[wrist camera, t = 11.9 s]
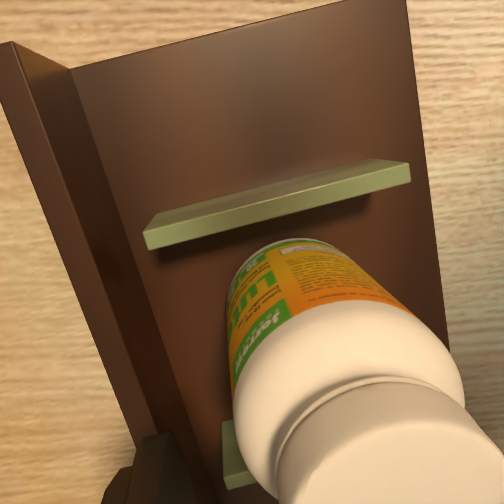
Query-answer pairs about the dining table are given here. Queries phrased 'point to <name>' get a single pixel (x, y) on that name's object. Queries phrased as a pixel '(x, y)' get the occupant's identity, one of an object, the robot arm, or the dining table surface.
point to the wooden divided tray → (224, 196)
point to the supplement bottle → (347, 389)
